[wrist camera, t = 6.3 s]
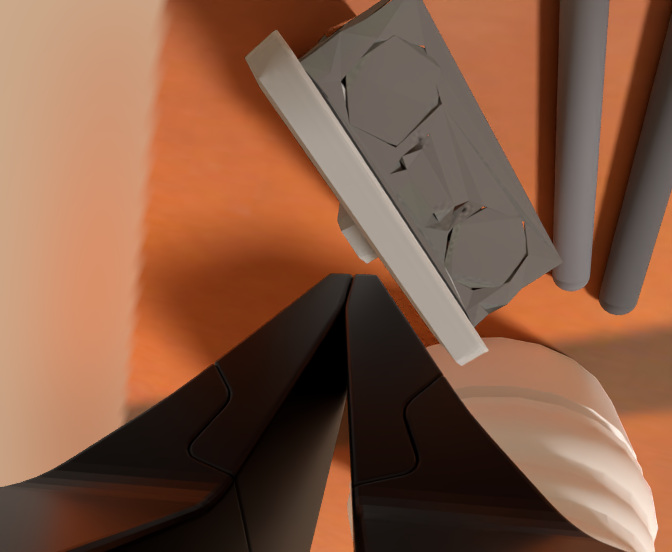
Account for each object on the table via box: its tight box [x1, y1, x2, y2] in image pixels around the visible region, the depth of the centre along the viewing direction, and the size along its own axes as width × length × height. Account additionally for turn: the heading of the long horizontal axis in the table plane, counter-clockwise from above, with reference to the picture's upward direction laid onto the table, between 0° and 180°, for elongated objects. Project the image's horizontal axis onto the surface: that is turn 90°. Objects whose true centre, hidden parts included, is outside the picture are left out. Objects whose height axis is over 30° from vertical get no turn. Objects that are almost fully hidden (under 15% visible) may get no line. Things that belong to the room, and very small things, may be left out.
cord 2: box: [599, 14, 672, 315], centre depth 17 cm, size 1×16×1 cm, turn 2°
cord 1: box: [552, 0, 609, 291], centre depth 18 cm, size 1×15×1 cm, turn 11°
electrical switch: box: [245, 0, 563, 366], centre depth 16 cm, size 9×5×9 cm, turn 35°
